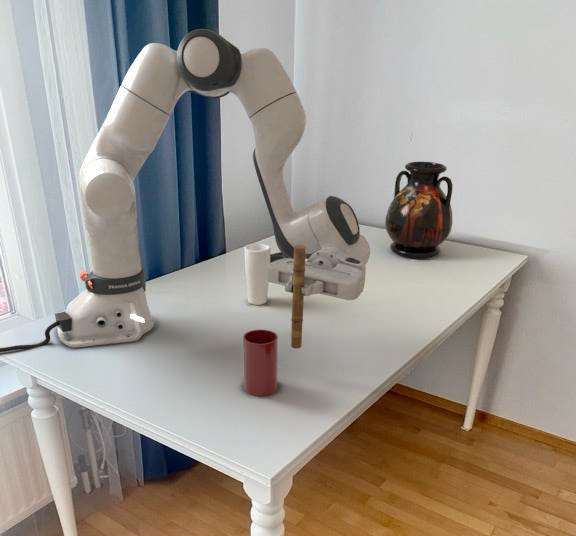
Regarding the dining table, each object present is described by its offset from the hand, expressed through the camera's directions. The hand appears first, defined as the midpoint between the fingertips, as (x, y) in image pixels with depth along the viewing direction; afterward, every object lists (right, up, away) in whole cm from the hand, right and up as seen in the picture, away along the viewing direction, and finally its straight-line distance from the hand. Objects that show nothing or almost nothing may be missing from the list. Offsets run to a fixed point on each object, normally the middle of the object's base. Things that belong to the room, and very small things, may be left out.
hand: (296, 290), depth 117 cm
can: (-7, -19, +6) cm, 21 cm away
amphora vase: (+41, +26, +85) cm, 97 cm away
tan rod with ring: (0, -10, +7) cm, 13 cm away
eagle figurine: (-6, +15, +65) cm, 67 cm away
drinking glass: (-10, +4, +45) cm, 46 cm away
